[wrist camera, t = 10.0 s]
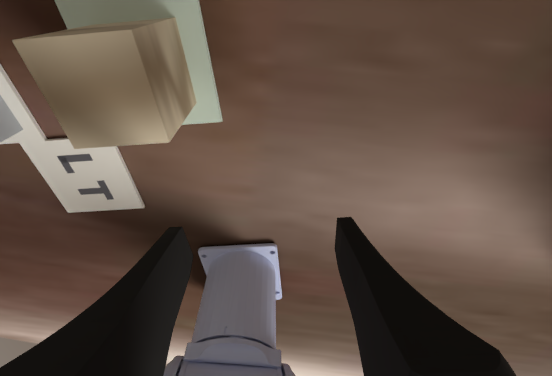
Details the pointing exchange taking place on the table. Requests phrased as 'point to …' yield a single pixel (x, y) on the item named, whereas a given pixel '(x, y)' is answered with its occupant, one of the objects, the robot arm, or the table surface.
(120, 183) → the tile
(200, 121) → the mat
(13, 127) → the grey block
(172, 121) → the maple block
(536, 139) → the table surface
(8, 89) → the tile
